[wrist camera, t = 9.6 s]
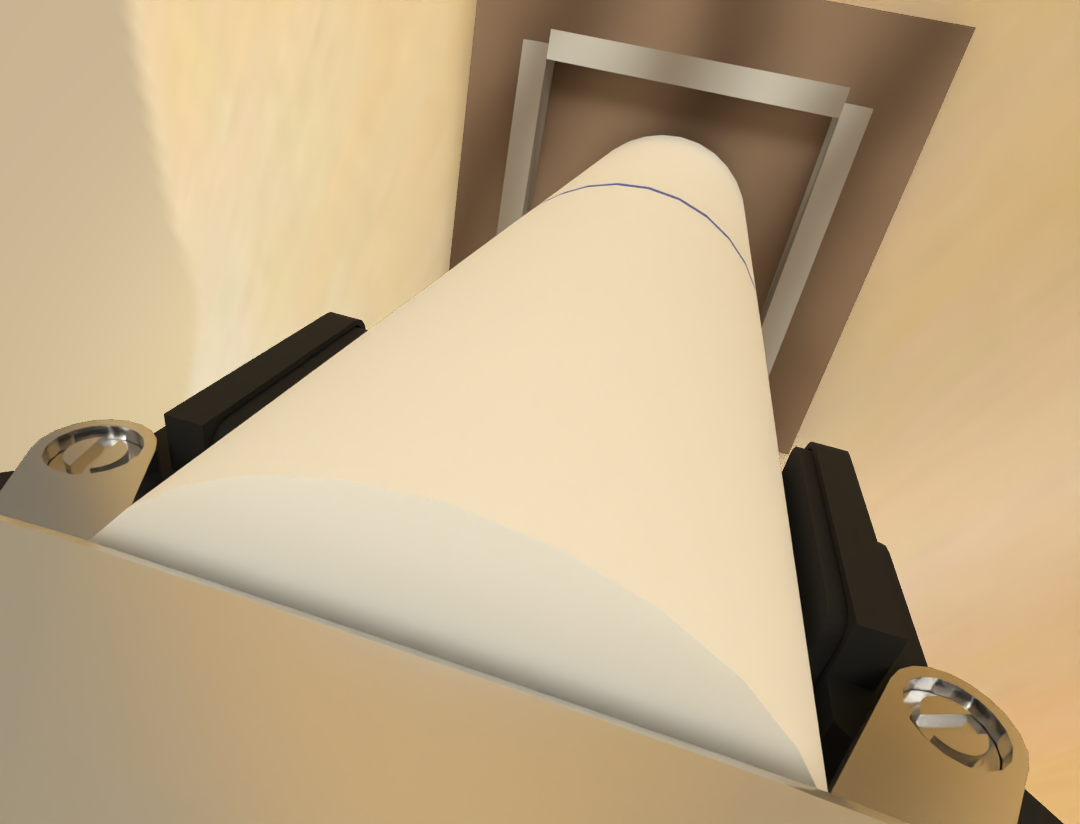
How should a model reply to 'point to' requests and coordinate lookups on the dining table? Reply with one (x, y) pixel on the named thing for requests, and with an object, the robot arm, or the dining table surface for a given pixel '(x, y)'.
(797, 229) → the mount board
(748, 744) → the cylindrical container
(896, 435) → the dining table surface
